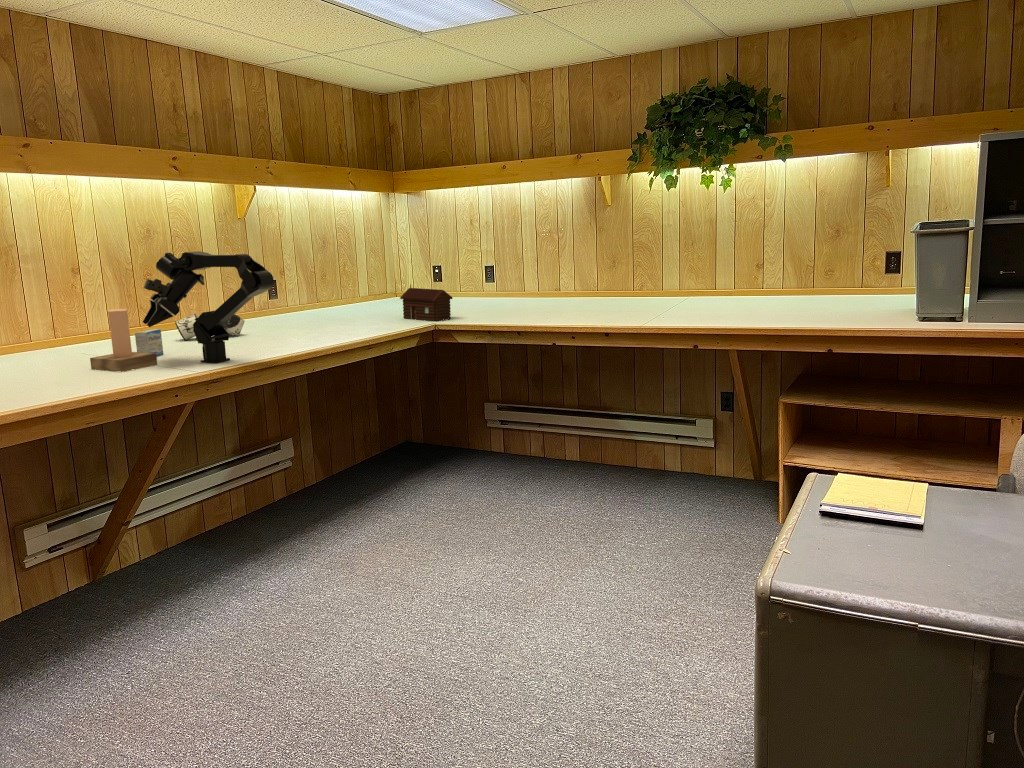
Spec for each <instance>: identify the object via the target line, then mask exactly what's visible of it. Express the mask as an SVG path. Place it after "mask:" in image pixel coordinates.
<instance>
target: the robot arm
mask: <svg viewBox="0 0 1024 768" xmlns="http://www.w3.org/2000/svg"><path fill="white" fill-rule="evenodd" d="M155 264H156V265H155V268H156V270H157V271H158V272H160V273H161V274H162V275H164V276H165V277H166V278H168V279H169V280H172V281H170V282H167V283H166V284H163V282H162V280H160V279H158V278H155V279H153V280H152V279H149V278H146V280H145V283H144V285H143V289H145V290H148V291H153V292H155V293H153V294H152V295H151V296H150V297H149V306H150V307H149V309H148V311H147V313H146V314H145V317H143V320H142V324H145V325H146V326H147V327H149V328H151V327H153V326H155V325H158V324H160V323H162V322H164V321H166V320H169V319H170V318H173V317H174V316H175V317H176V316H177V315H178V313H179V312H180V311H181V310H180V306H179V304H180V302H181V301H183V299H186V298H187V296H188V293H190V291H191V290H192V289H193V288H194V287H195V286H196V284H198V283H199V284H200V285H202V286H205V276H204V275H203V274H202V273H199V274H198V273H196V271H201V270H206V269H210V268H235V269H236V270H237V273H238V276H239V278H240V279H241V280H242V281H241V282H240V283H241V284H240V287H239V289H237V290H236V291H235V292H234V293H233V294H232V295H230V296H229V298H227V299H226V300H225V301H224V302H223V303H221V305H220V306H218V308H216V309H215V310H210V311H204V312H201V313H200V315H199V316H197V317H198V318H197V319H195V320H196V321H195V322H194V324H193V330H194V333H195V338H196V341H197V343H198V344H200V345H202V346H201V347H202V358H203V359H199V360H200V363H209V364H213V363H214V364H217V363H221V362H225V361H230V360H231V358H230V357H227V352H226V351H227V350H226V342H225V341H229V339H230V336H229V335H230V334H229V333H228V332H227V331H226V330H225V328H224V327H225V323H226V321H227V320H228V319H229V318H230V317H231V316H233V315H234V314H236V313H237V312H239V310H240V309H242V308H243V307H244V306H245V305H247V304H248V303H249V301H251V300H252V299H253V298H254V297H256V296H259V295H261V294H263V293H266V292H267V291H270V290H271V289H272V288H273V287H274V285H275V283H274V281H275V279H274V276H273V274H272V273H271V272H270V271H268V269H266V268H265V267H264V266H263V265H261V264H260V263H259V262H258V261H256V260H254V259H253V258H252V256H250V255H249V254H247V253H240V254H239V253H237V254H211V253H209V252H204V251H201V250H200V251H186V252H182V254H181V255H180V257H179V258H178V257H176V256H175V255H174V254H173V253H172V252H165V254H164V255H163V256H162V257H160V258H159V259H158V261H157V262H156V263H155Z"/></svg>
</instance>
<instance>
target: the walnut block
mask: <svg viewBox="0 0 1024 768" xmlns="http://www.w3.org/2000/svg"><path fill="white" fill-rule="evenodd" d="M89 363H90V369H91V370H95V369H96V371H97V370H98V371H106V370H108V372H117V371H121V372H120V373H123V372H122V371H124V372H127V370H129V371H133V370H132V369H134V370H137V369H138V370H139V369H142V368H143V369H144V368H147V367H152V366H157V365H158V356H156V353H142V352H137V351H132V356H129V357H116V358H114V356H113V353H111V354H110V353H109V354H104V355H99V356H93V357H90V358H89Z"/></svg>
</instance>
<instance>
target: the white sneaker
mask: <svg viewBox="0 0 1024 768" xmlns="http://www.w3.org/2000/svg"><path fill="white" fill-rule="evenodd" d="M198 317H199V316H198V315H197V313H194V314H191V315H188V316H186V317H184V318H181V319H179V320H177V321H175V322H174V324H175V326H176V328H177V330H178V332H179V334H180V337H181V338H182V339H183V341H184V342H186V341H188V340H190V339H193V338H194V337H195V338H196V336H195V333H194V330H193V324H194V322H195V321H196V320H195V319H197V318H198ZM244 324H245V320H244V319H242V317H240V316H239V315H237V314H236V313H235V314H234V315H233V316H231V317H230V318H229V319H228V320H227V321H226V323H225V327H224V328H225V330H226V331H227V332H228V333H229V334H230V335H229V337H240V334H241V332H242V329H243V327H244Z"/></svg>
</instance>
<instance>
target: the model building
mask: <svg viewBox="0 0 1024 768" xmlns="http://www.w3.org/2000/svg"><path fill="white" fill-rule="evenodd" d="M400 300H402V309H403V310H402V312H403V313H402V315H403V316H402V318H403V319H406V320H415V319H416V320H415V321H424V320H425V321H426V322H439V320H442V321H444V320H443V319H448V318H451V316H452V313H451V300H453V296H451V295H450V294H449V293H448V292H446V291H445V290H444V289H438V288H437V289H433V288H417V287H416V288H415V287H412V284H410V285H409V287H408V289H407V290H406V291H404V292H403V294H402V295H401V296H400ZM451 319H452V318H451ZM448 320H449V319H448Z"/></svg>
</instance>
